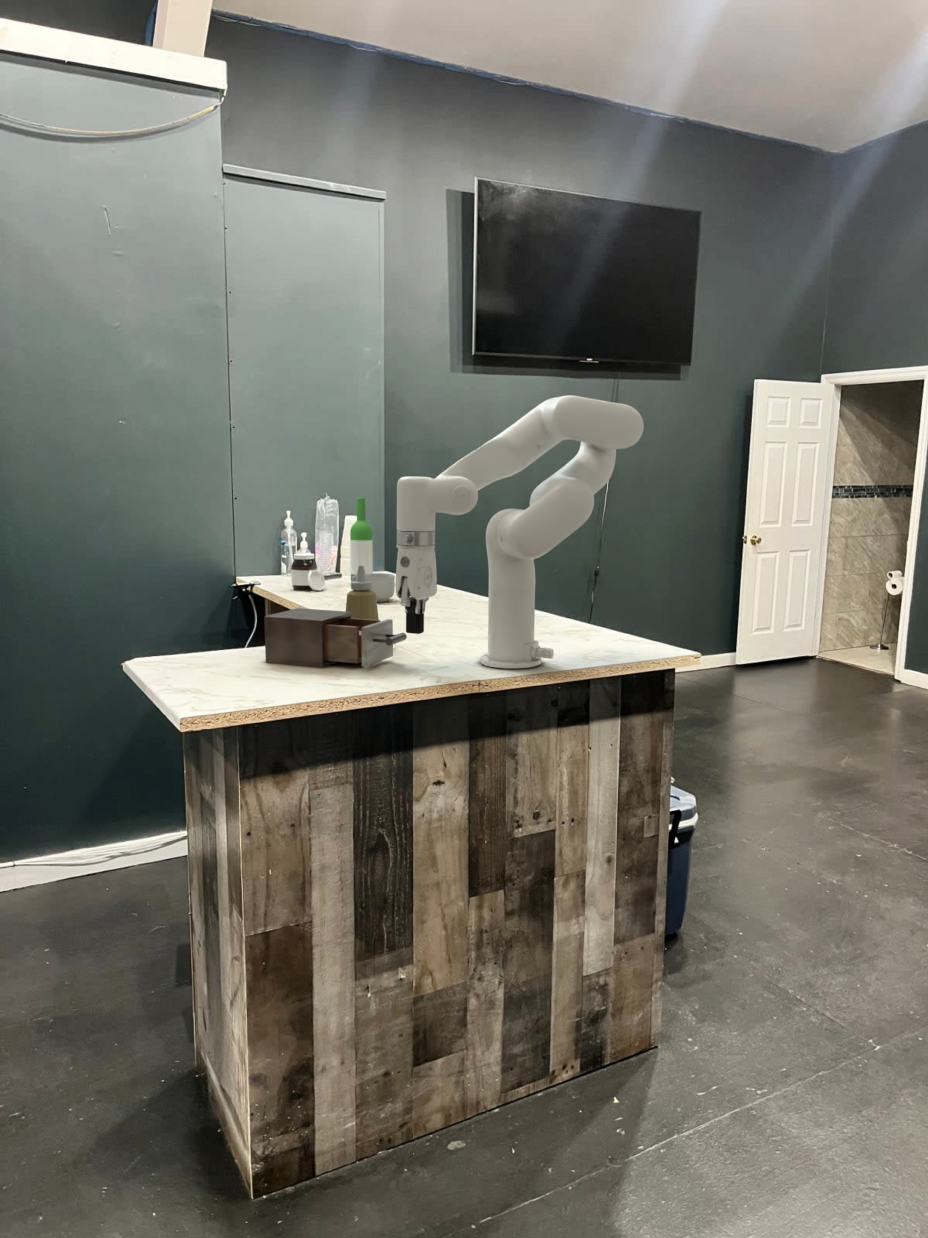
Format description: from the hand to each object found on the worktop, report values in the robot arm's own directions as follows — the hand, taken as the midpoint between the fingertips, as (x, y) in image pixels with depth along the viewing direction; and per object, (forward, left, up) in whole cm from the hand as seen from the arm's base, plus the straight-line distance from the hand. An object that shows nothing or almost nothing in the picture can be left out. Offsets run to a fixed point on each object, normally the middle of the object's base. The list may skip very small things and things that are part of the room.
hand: (414, 632), depth 183 cm
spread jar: (+86, -100, -8) cm, 133 cm away
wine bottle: (+78, -122, -8) cm, 145 cm away
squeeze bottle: (+22, -19, -8) cm, 31 cm away
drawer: (+12, 0, -6) cm, 14 cm away
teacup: (+54, -85, -8) cm, 101 cm away
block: (+13, 0, -5) cm, 14 cm away
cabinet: (+24, 0, -7) cm, 25 cm away
